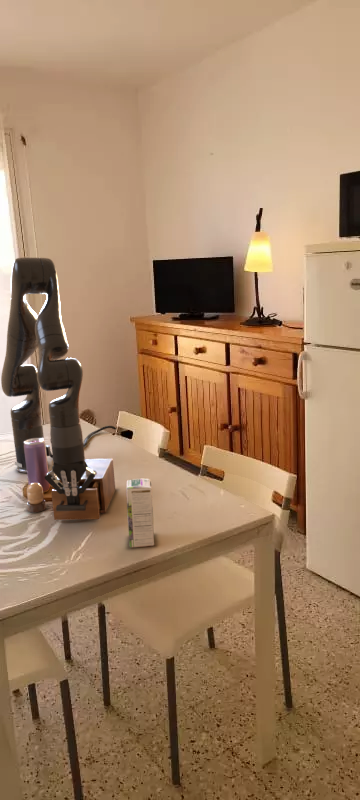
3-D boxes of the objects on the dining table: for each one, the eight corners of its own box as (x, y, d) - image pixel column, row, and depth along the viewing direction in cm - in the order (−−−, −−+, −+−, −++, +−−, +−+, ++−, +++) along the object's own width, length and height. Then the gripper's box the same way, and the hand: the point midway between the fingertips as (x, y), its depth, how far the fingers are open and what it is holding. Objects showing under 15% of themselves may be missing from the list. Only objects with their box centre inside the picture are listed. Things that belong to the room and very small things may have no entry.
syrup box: (129, 537, 145) (125, 479, 142) (154, 534, 146) (150, 477, 142) (129, 548, 140) (125, 488, 136) (155, 546, 140) (151, 486, 137)
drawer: (95, 527, 149) (92, 497, 148) (49, 528, 150) (46, 498, 148) (109, 496, 168) (106, 469, 166) (68, 497, 169) (65, 470, 167)
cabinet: (105, 513, 159) (102, 478, 157) (57, 514, 160) (54, 479, 158) (115, 490, 174) (112, 458, 172) (71, 491, 175) (68, 459, 173)
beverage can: (45, 494, 174) (39, 444, 170) (25, 494, 175) (19, 444, 171) (53, 486, 179) (48, 437, 176) (34, 486, 181) (28, 437, 177)
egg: (30, 505, 167) (27, 479, 165) (48, 505, 167) (45, 479, 165) (25, 512, 162) (22, 486, 160) (43, 512, 162) (40, 486, 160)
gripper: (97, 436, 150) (103, 501, 155) (44, 437, 151) (51, 503, 156) (91, 445, 143) (97, 514, 147) (35, 447, 144) (43, 515, 148)
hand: (74, 508), depth 151 cm, fingers closed
